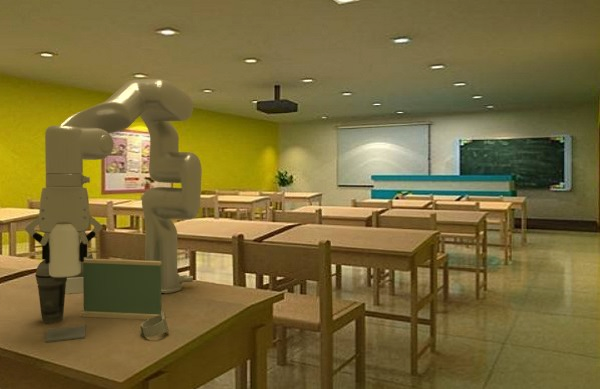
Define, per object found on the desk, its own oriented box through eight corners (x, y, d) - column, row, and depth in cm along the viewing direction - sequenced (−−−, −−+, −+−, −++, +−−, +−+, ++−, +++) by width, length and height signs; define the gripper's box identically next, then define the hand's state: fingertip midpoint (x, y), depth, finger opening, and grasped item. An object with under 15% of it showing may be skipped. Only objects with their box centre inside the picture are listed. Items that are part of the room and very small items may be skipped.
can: (70, 270, 117) (70, 219, 117) (86, 274, 114) (86, 221, 113) (43, 275, 112) (42, 221, 111) (58, 279, 108) (58, 224, 108)
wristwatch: (169, 339, 112) (169, 317, 112) (139, 342, 110) (139, 319, 110) (167, 326, 121) (167, 306, 120) (140, 328, 119) (140, 308, 119)
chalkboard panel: (80, 316, 127) (80, 260, 126) (88, 311, 131) (88, 257, 130) (157, 320, 125) (157, 263, 124) (163, 315, 129) (163, 260, 128)
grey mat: (85, 327, 119) (85, 325, 119) (85, 338, 112) (85, 336, 112) (48, 330, 116) (48, 329, 116) (44, 342, 109) (44, 340, 109)
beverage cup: (46, 327, 119) (45, 243, 117) (29, 321, 122) (28, 240, 121) (75, 319, 125) (74, 239, 123) (57, 314, 129) (56, 236, 127)
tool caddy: (101, 272, 178) (101, 259, 178) (102, 291, 152) (102, 276, 152) (51, 275, 172) (51, 262, 172) (43, 295, 146) (43, 280, 146)
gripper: (105, 181, 118) (106, 256, 119) (22, 181, 112) (23, 260, 113) (106, 182, 111) (106, 262, 112) (17, 182, 105) (18, 267, 106)
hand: (65, 260), depth 113 cm, fingers closed on can, 6 cm apart
